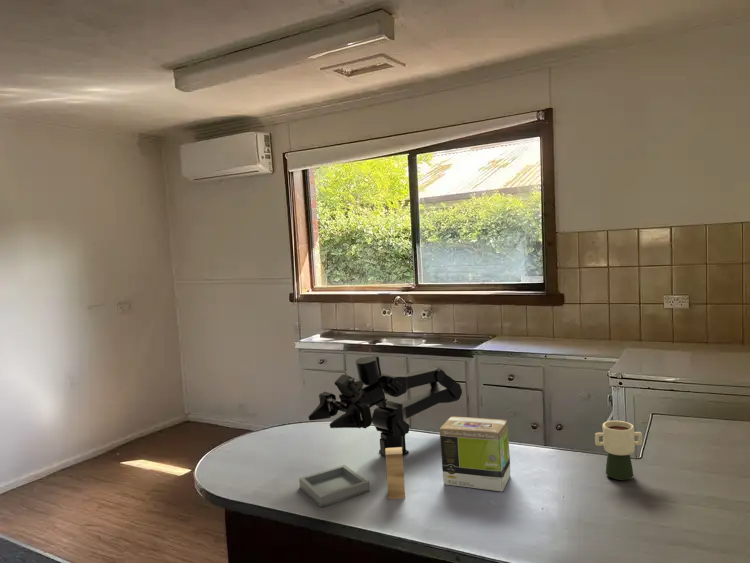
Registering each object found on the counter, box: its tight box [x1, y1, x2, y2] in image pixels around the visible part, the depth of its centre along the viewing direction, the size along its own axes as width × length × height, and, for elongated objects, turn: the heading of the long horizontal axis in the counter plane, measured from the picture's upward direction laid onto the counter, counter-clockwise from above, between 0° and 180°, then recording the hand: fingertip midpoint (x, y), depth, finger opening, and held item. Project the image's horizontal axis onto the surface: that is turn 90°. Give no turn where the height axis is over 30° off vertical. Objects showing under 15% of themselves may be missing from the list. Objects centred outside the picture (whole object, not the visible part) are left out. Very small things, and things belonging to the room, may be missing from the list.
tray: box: [299, 464, 370, 508], centre depth 145 cm, size 13×13×2 cm
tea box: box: [439, 415, 511, 492], centre depth 144 cm, size 15×10×15 cm, turn 65°
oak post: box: [384, 447, 406, 500], centre depth 140 cm, size 4×4×11 cm
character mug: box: [594, 420, 643, 481], centre depth 141 cm, size 11×7×13 cm, turn 82°
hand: (319, 422), depth 148 cm, fingers open, 9 cm apart
